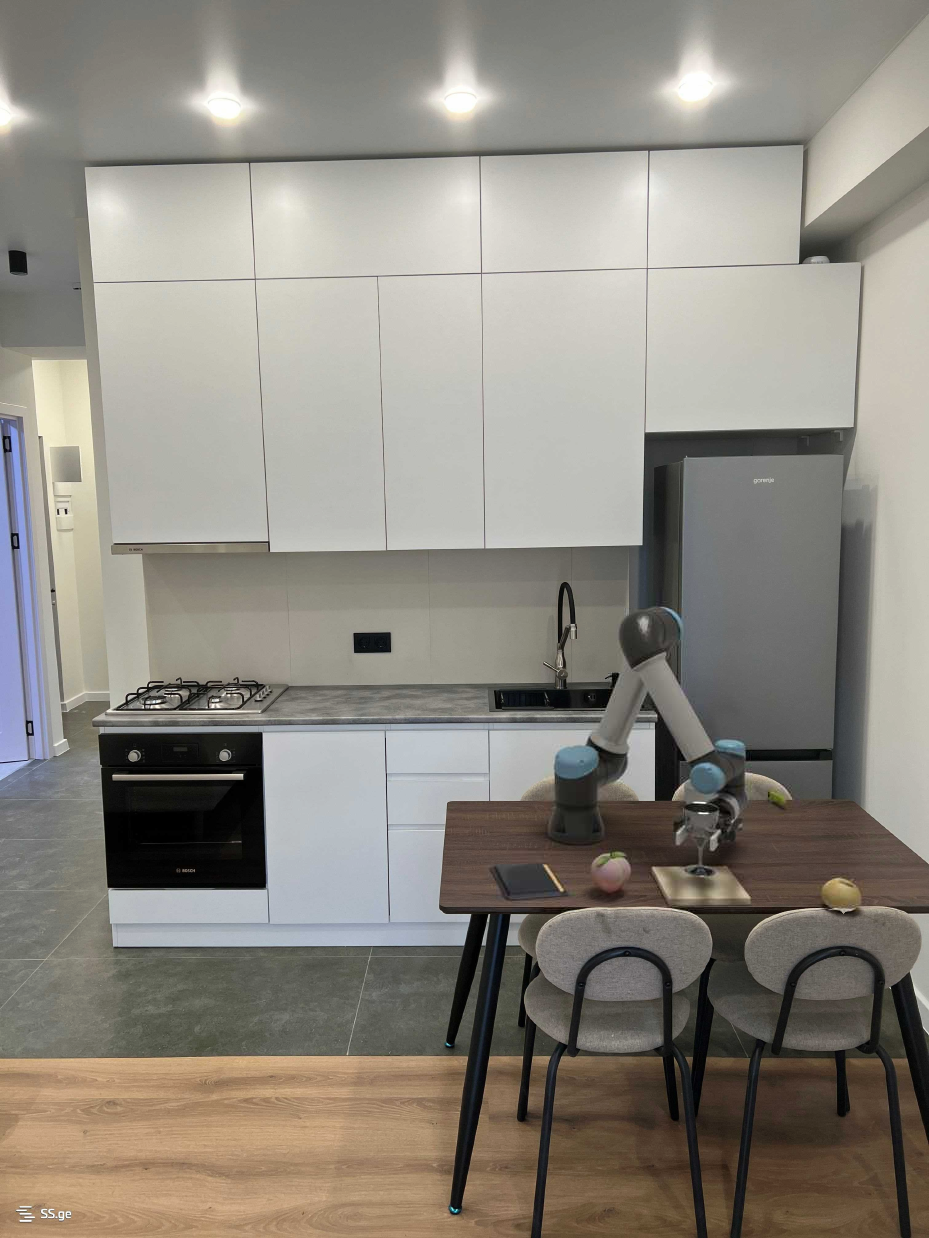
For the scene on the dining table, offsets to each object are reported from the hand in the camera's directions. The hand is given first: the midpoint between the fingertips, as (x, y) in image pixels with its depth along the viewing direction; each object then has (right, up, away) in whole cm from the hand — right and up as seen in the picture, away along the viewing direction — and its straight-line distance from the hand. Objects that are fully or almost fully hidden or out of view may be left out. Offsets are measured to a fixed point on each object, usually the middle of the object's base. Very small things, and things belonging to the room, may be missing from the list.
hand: (694, 841), depth 194 cm
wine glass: (+3, -8, +5) cm, 10 cm away
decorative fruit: (-19, -13, +4) cm, 23 cm away
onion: (+30, -13, -5) cm, 34 cm away
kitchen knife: (+41, -5, +70) cm, 81 cm away
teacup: (+19, -6, +62) cm, 65 cm away
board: (+2, -12, +6) cm, 14 cm away
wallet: (-37, -13, +11) cm, 40 cm away
